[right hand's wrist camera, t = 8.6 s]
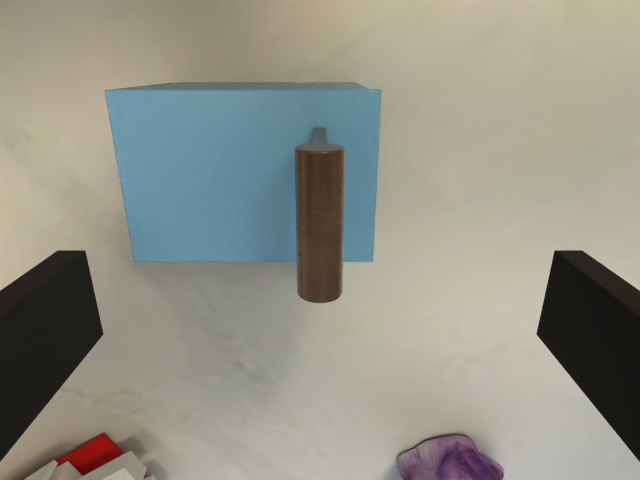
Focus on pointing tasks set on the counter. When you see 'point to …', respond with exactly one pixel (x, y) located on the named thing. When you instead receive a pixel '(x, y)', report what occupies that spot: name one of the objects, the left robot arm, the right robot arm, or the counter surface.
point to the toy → (94, 464)
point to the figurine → (448, 461)
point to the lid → (250, 177)
